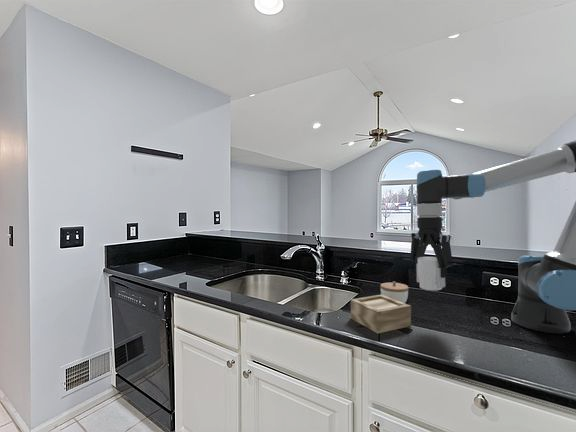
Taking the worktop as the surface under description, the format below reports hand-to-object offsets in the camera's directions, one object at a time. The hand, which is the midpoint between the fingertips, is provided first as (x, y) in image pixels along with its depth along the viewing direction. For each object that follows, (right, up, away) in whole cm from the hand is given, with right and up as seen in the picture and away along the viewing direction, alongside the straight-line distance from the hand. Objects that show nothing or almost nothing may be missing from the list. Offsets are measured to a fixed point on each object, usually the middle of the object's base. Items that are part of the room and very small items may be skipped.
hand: (430, 284), depth 100 cm
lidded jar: (-5, -13, +20) cm, 25 cm away
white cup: (0, -1, 0) cm, 1 cm away
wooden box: (-16, -13, +2) cm, 21 cm away
